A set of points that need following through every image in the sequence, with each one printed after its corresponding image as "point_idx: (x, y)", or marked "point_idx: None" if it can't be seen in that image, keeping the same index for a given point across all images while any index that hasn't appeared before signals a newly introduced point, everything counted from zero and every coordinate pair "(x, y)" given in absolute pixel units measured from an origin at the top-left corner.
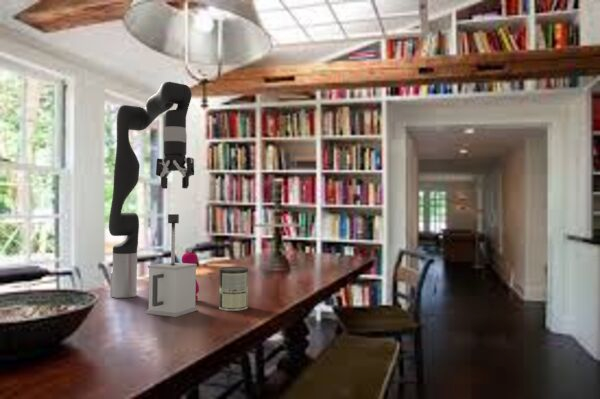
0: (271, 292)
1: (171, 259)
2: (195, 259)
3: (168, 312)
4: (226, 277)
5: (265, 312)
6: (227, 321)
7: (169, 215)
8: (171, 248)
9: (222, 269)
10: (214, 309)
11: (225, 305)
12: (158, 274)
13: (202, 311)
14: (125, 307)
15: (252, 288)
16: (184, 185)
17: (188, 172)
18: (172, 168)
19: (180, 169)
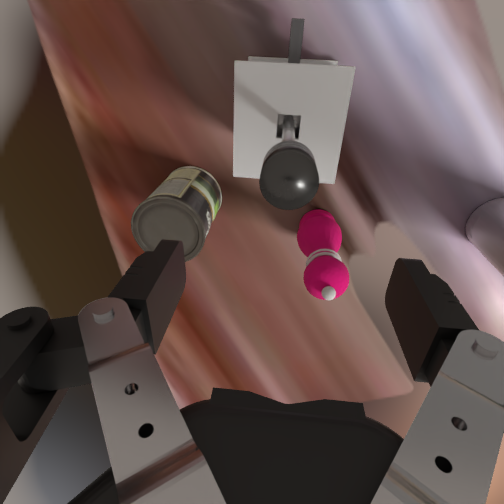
0: (215, 341)
1: (290, 124)
2: (304, 274)
3: (269, 57)
4: (169, 190)
5: (114, 179)
6: (121, 64)
7: (295, 150)
8: (291, 133)
9: (182, 208)
10: (219, 167)
11: (190, 169)
12: (298, 49)
13: (229, 138)
14: (428, 107)
15: (266, 363)
16: (156, 255)
17: (10, 326)
18: (296, 423)
19: (110, 364)
